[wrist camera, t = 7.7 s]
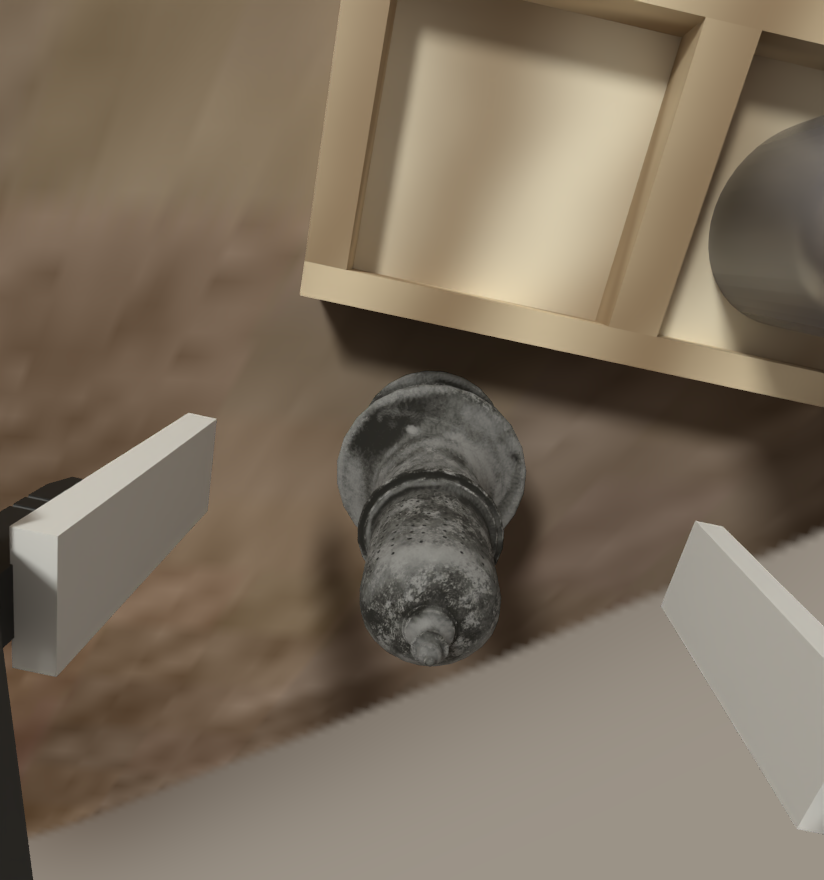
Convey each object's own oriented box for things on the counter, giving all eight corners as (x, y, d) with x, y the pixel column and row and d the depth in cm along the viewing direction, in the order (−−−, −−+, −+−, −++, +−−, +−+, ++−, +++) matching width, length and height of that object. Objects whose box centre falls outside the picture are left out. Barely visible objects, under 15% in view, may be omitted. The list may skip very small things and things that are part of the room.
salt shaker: (491, 525, 22) (554, 816, 11) (342, 499, 22) (245, 765, 11) (528, 378, 20) (649, 542, 9) (363, 348, 20) (276, 478, 9)
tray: (315, 289, 20) (299, 294, 17) (368, -64, 16) (357, -117, 14) (874, 409, 20) (932, 430, 18) (1027, 92, 17) (1123, 67, 15)
